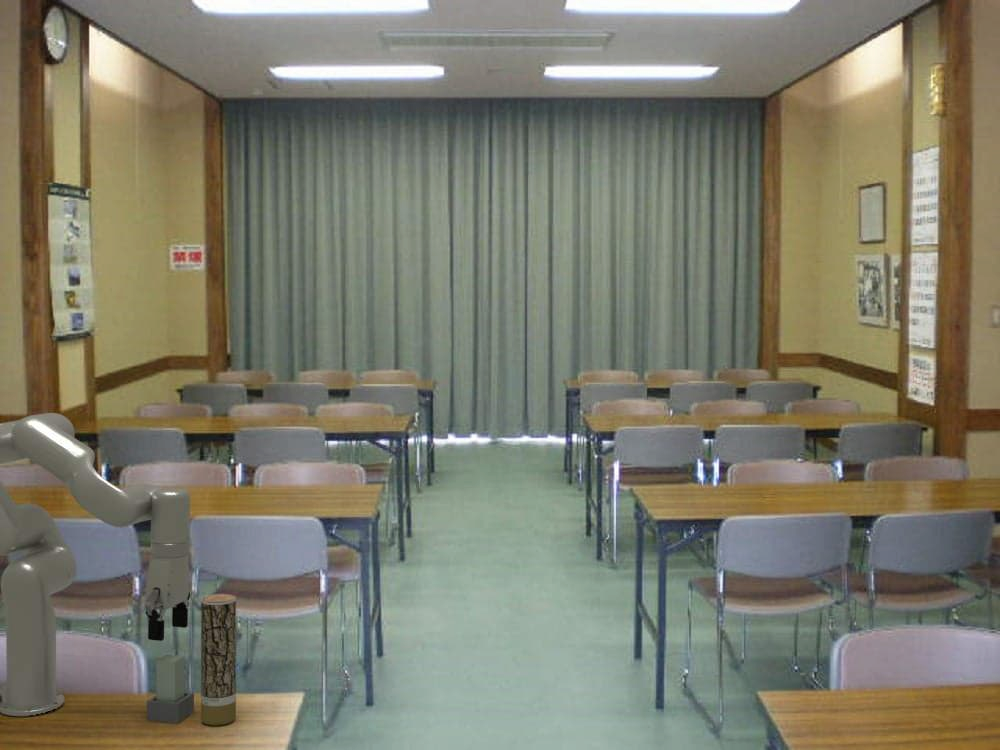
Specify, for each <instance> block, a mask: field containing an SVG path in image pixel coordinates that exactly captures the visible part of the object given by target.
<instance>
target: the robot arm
mask: <svg viewBox="0 0 1000 750" xmlns="http://www.w3.org/2000/svg"><path fill="white" fill-rule="evenodd" d="M95 454H96V453H95V452H94V449H92V448H91V447H90V446H88V445H87V444H85V443H83V442H82V441H80V440H78V439H77V438H75V428H74V425H73V424H72V422H71V420H70V419H68V418H67V417H66V416H65V415H62V414H60V413H56V412H47V413H46V412H45V413H40V414H31V415H28V416H25V417H23V418H21V419H19V420H13V421H7V422H0V465H1V464H6V463H11V462H16V461H21V460H27V459H28V460H30V461H32V462H33V463H34V464H36V465H38V466H39V467H40V468H42V469H43V470H45V471H46V472H48V473H49V474H51V476H52V475H53V476H54V477H56V479H58V480H60V481H61V482H62V483H64V484H65V485H66V487H67V489H68V491H69V493H70V495H72V498H73V499H74V500H75V502H76V503H77V504H78V505H79V506H80V507H81V508H82V509H83V510H85V511H86V512H88V513H89V514H91V515H92V516H94V517H96V519H98V520H100V521H101V522H103V523H104V524H107V525H109V526H111V527H114V528H120V529H121V528H127V527H130V526H132V525H136V524H138V523H142V522H145V521H149V520H150V559H149V563H148V568H147V569H148V570H147V575H146V585H145V599H144V604H143V605H144V609H145V615H146V619H147V623H148V625H147V639H148V640H149V641H150V640H151V641H158V642H161V641H164V639H165V620H163V618H164V616H165V613H166V610H168V609H169V610H170V609H171V608H172V613H171V615H172V616H171V619H172V620H171V621H172V622H171V626H172V627H174V628H184V629H185V628H187V627H188V624H189V623H188V621H189V620H188V619H189V606H190V602H189V601H190V598H191V591H192V590H191V589H192V586H193V583H192V582H191V581H190V568H189V566H190V564H189V563H190V562H189V557H190V538H191V537H190V533H191V530H190V529H191V528H190V527H191V526H190V525H191V494H190V492H189V490H187V489H185V488H181V487H161V486H156V485H152V484H148V483H147V484H146V483H138V484H134V485H130V486H127V487H121V488H119V487H118V486H116V485H114V484H113V483H111V482H110V481H108V480H107V479H105V478H104V477H102V476H101V474H99V473H98V472H97V471H96V469H95V468H94V467H95V466H94V464H95V463H94V462H95V459H96V458H95V457H96V455H95ZM20 552H22V553H23V554H24V555H23V556H21V557H19V558H17V559H15V560H13V561H12V562H11V563H10V564H8V565H7V566H6V568H5V569H4V571H3V572H2V575H1V579H0V589H1V595H2V601H3V605H4V612H5V614H4V615H5V635H6V638H5V641H6V644H5V645H6V650H5V651H6V654H5V655H6V656H5V658H6V659H5V660H6V683H5V682H4V683H3V682H0V696H1V701H0V713H1V714H2V715H5V716H9V717H10V716H11V717H30V716H29V715H33V716H37V715H36V714H39V715H41V714H40V713H44V714H46V713H45V712H47V711H50V710H53V709H55V708H57V707H58V706H60V705H61V704H62V703H63V702H64V703H65V696H64V695H63V694H62V693H60V692H57V619H56V613H55V609H54V607H53V604H52V602H51V601H52V600H51V596H52V595H54V594H56V593H58V592H60V591H63V590H64V589H66V588H68V587H69V586H71V584H72V583H73V582H74V581H75V578H76V576H77V571H78V566H77V562H76V559H75V555H74V554H73V552H72V550H71V548H70V546H69V544H68V543H67V541H66V539H65V538H64V536H63V534H62V532H61V530H60V529H59V527H58V525H57V524H56V522H55V520H54V518H53V517H52V515H50V513H49V512H48V511H47V510H46V509H45V508H44V507H42V506H40V505H38V504H34V503H22V504H18V505H17V504H16V503H15V501H14V500H13V498H12V497H11V495H10V494H9V491H8V489H7V487H6V486H5V484H4V483H3V482H2V480H0V557H1V556H2V557H5V556H11V555H15V554H17V553H20ZM157 610H159V612H158V611H157Z"/></svg>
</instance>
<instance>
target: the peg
mask: <svg viewBox="0 0 1000 750" xmlns="http://www.w3.org/2000/svg"><path fill="white" fill-rule="evenodd" d="M155 662H156V665H155V666H156V673H155V674H156V678H155V679H156V680H155V681H156V686H155V687H156V694H155V695H157V701H164V702H176V703H177V702H178V701H179V700H181V699H182V698H184V692H185V656H184V655H176V654H175V655H173V654H165V655H163V656H161V657H160V658H159V659H158V658H157V659H156V661H155Z"/></svg>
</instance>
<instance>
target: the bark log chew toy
mask: <svg viewBox="0 0 1000 750" xmlns="http://www.w3.org/2000/svg"><path fill="white" fill-rule="evenodd" d="M200 607H201V609H200V618H201V619H200V629H201V630H200V633H201V634H200V643H201V644H200V650H201V651H200V656H201V658H200V663H201V664H200V689H201V690H200V692H201V693H200V703H201V705H200V706H201V708H200V709H201V711H200V713H201V714H200V718H201V721H202V723H203V724H205V725H207V726H214V727H215V726H218V727H219V726H223V725H228V724H231V723H233V722H234V721H235V720H236V716H237V598H236V596H235V595H234V594H229V593H215V594H208V595H205V596H202V597H201V602H200Z"/></svg>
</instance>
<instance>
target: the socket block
mask: <svg viewBox="0 0 1000 750" xmlns="http://www.w3.org/2000/svg"><path fill="white" fill-rule="evenodd" d="M193 711H194V712H195V693H194V692H189V691H184V698H182V699H181V700H179V701H178V702H177V703H176V702H164V701H157V694H155V695H154V696H152V697H151V698H149V699H148V700H146V721H147V720H149V721H148V722H154V721H159V722H158V723H164V722H167V724H175V725H176V724H177V725H178V724H180V723H181V722H183V721H184V720H185V719H186V718H185V717H187V716H188V715H189V714H191V713H192V712H193ZM194 712H193V713H194ZM193 713H192V714H193ZM192 714H191V715H192ZM189 716H190V715H189ZM189 716H188V717H189ZM188 717H187V718H188ZM183 719H184V720H183ZM179 722H180V723H179Z"/></svg>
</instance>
